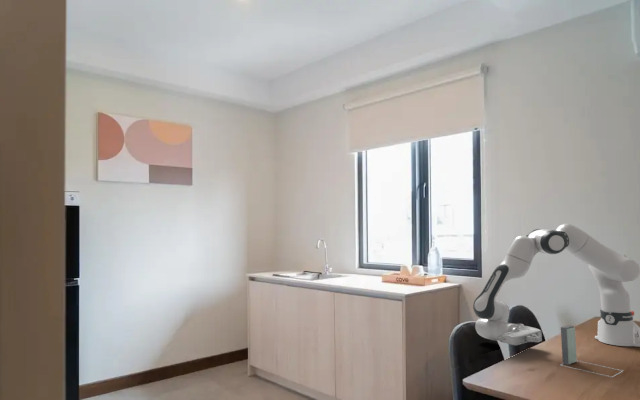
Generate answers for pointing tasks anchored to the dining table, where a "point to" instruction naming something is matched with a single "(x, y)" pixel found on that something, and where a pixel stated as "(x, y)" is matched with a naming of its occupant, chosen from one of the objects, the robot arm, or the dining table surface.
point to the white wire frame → (593, 372)
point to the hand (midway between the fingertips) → (540, 339)
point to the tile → (568, 344)
